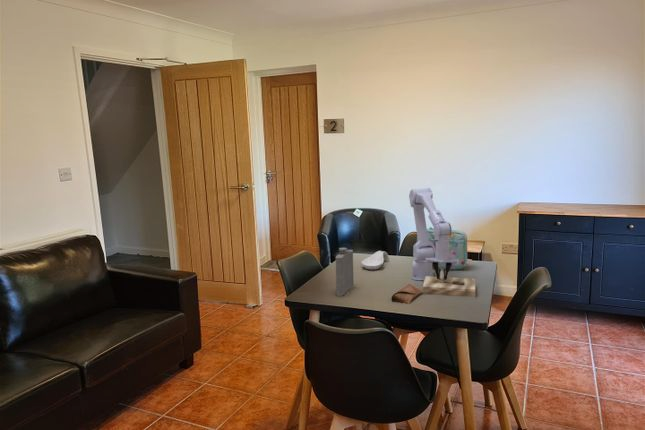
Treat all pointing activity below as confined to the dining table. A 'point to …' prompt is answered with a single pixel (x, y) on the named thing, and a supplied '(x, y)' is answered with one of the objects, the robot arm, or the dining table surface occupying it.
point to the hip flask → (344, 271)
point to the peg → (441, 274)
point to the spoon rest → (375, 260)
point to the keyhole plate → (449, 286)
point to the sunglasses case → (406, 294)
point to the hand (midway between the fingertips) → (441, 278)
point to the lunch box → (452, 248)
